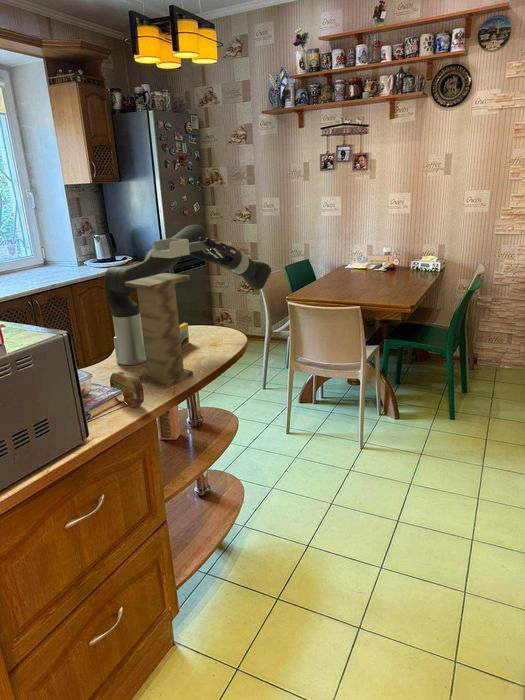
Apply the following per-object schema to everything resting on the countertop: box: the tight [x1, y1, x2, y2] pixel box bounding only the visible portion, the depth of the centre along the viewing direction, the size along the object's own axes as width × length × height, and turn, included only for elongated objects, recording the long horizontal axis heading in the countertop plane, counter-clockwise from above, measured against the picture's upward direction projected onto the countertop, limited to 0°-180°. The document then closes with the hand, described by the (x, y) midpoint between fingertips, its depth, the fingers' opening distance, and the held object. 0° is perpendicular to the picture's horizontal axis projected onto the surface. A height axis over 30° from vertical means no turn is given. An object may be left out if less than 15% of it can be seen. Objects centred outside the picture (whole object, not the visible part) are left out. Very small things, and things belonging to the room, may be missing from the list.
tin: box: [109, 371, 145, 409], centre depth 141 cm, size 15×3×8 cm, turn 45°
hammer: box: [150, 237, 218, 258], centre depth 154 cm, size 24×8×4 cm, turn 144°
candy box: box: [179, 322, 190, 349], centre depth 183 cm, size 16×2×8 cm, turn 161°
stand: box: [125, 272, 194, 389], centre depth 153 cm, size 16×12×32 cm
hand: (202, 240), depth 159 cm, fingers closed on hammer, 2 cm apart
